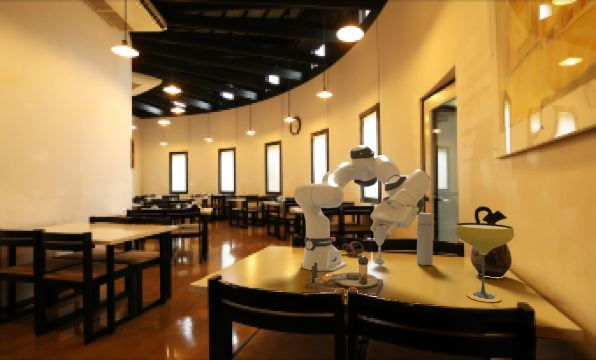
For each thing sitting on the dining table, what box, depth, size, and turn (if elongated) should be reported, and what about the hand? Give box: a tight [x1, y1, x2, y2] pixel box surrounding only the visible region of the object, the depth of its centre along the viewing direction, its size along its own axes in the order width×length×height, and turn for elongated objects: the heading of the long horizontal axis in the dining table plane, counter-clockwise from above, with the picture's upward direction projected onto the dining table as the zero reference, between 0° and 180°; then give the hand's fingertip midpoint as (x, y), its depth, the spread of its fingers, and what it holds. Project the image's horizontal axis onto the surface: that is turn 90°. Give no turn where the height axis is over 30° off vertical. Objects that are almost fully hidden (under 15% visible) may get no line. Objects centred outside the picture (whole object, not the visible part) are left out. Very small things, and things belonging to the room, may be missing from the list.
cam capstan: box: [321, 255, 377, 288], centre depth 128 cm, size 17×22×11 cm
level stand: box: [304, 263, 384, 297], centre depth 130 cm, size 20×26×8 cm
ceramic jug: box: [470, 205, 513, 277], centre depth 148 cm, size 17×15×30 cm
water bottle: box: [416, 212, 434, 266], centre depth 169 cm, size 9×8×25 cm
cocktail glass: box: [454, 222, 515, 299], centre depth 120 cm, size 18×18×25 cm
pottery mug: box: [341, 240, 365, 257], centre depth 190 cm, size 12×10×8 cm
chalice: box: [373, 225, 388, 265], centre depth 172 cm, size 7×7×18 cm
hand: (379, 232), depth 125 cm, fingers open, 8 cm apart
